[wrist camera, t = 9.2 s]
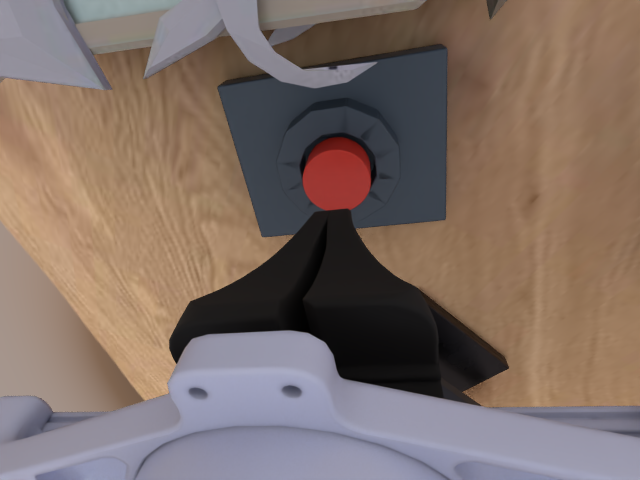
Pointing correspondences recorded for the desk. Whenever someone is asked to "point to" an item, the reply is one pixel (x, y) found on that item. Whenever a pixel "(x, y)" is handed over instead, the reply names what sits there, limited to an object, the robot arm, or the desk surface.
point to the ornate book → (169, 34)
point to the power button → (337, 174)
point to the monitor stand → (463, 352)
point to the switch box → (348, 122)
